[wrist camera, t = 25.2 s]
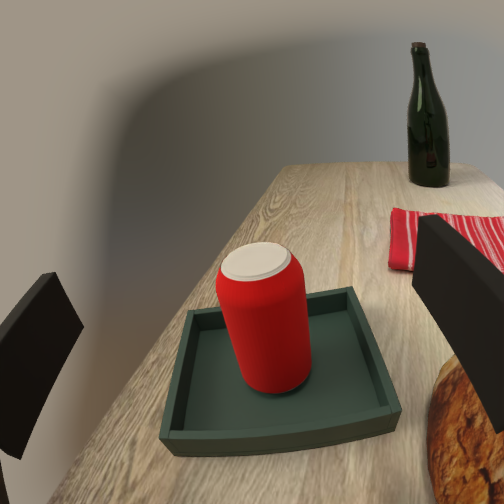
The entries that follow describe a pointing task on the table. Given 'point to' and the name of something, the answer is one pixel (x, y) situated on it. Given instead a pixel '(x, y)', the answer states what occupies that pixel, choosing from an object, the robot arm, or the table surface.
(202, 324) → the drinks tray
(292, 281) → the beverage can
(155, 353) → the table surface
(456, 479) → the bread
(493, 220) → the dish towel
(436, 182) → the wine bottle
